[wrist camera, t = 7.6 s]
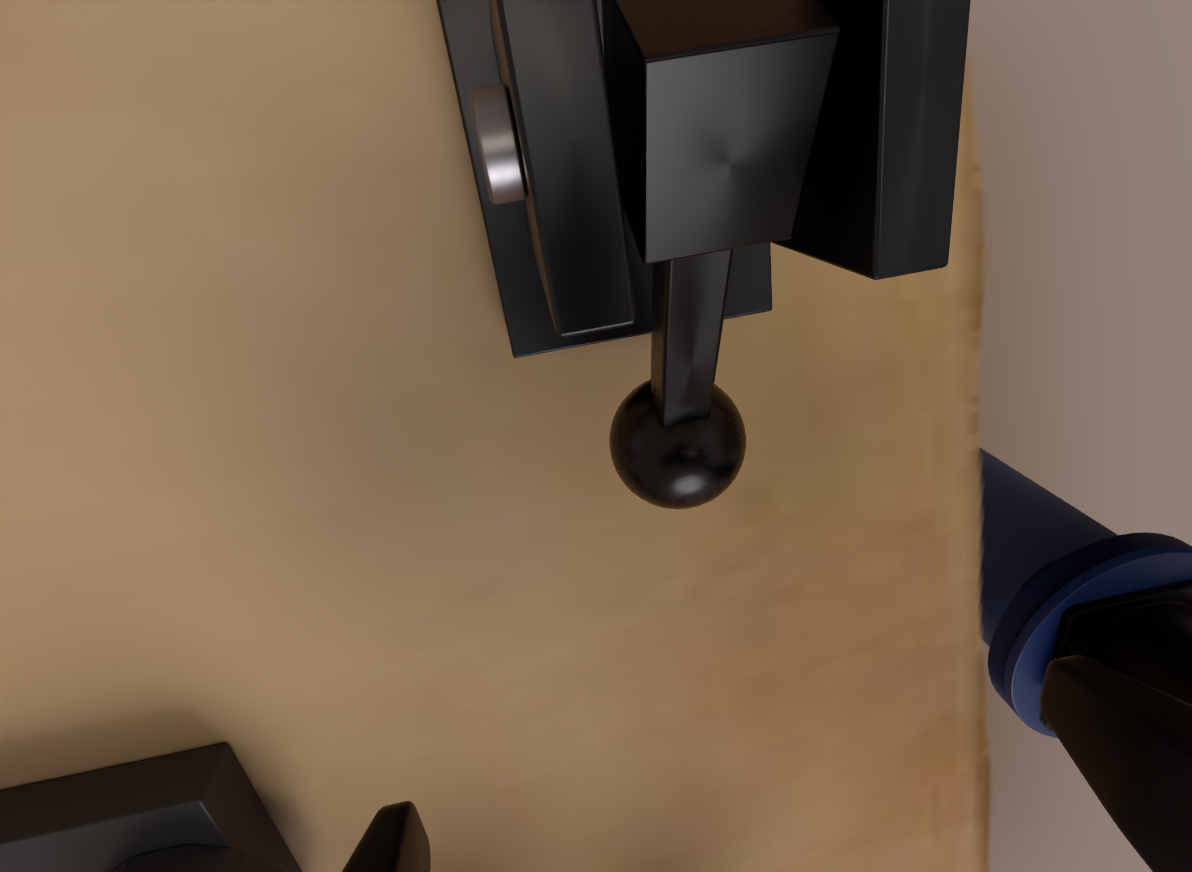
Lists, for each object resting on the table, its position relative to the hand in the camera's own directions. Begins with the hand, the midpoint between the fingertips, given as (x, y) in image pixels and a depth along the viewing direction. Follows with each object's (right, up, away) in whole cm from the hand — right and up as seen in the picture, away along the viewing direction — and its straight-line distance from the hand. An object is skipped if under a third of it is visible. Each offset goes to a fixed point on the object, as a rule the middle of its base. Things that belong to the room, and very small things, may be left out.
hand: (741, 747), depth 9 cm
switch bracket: (-2, +12, +7) cm, 14 cm away
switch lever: (-1, +8, +4) cm, 9 cm away
